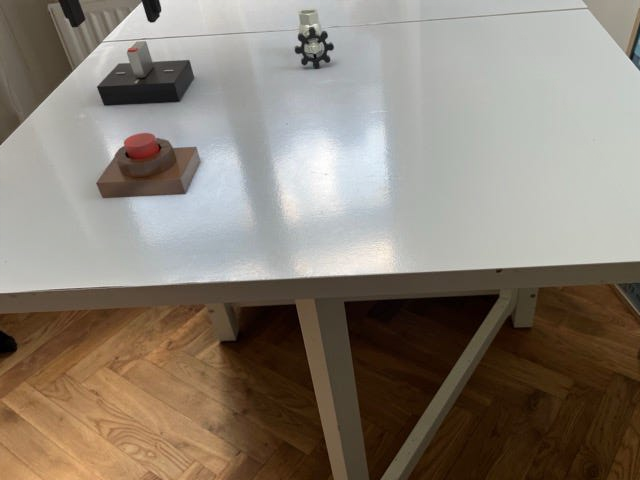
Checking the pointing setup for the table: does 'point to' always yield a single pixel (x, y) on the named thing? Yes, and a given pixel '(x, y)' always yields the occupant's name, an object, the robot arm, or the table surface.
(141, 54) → the hob knob
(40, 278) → the table surface
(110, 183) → the button block
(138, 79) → the panel
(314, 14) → the valve
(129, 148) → the button
